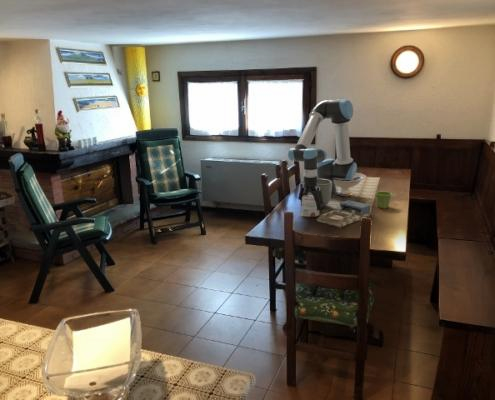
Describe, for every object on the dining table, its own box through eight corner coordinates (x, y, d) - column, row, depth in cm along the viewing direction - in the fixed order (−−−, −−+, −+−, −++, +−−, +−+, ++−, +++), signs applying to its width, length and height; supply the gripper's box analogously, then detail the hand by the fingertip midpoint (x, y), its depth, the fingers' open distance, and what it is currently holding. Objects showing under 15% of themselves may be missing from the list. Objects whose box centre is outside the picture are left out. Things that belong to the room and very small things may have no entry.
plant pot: (372, 205, 253) (373, 191, 251) (387, 204, 254) (388, 190, 251) (378, 209, 244) (379, 195, 242) (393, 208, 245) (394, 194, 243)
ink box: (318, 214, 241) (318, 195, 237) (317, 217, 236) (317, 197, 233) (303, 213, 243) (303, 194, 240) (302, 216, 239) (302, 196, 236)
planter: (314, 201, 267) (314, 177, 263) (337, 205, 255) (337, 180, 251) (298, 207, 256) (297, 182, 251) (320, 212, 244) (321, 186, 239)
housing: (362, 215, 231) (362, 207, 230) (340, 209, 242) (340, 202, 241) (369, 212, 236) (370, 204, 234) (347, 207, 247) (348, 200, 245)
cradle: (340, 227, 218) (340, 219, 217) (316, 220, 230) (316, 213, 229) (370, 215, 236) (370, 207, 234) (347, 209, 247) (347, 202, 246)
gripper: (291, 174, 239) (292, 211, 245) (321, 180, 223) (321, 219, 229) (300, 172, 244) (300, 208, 250) (330, 177, 228) (329, 216, 234)
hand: (310, 213), depth 239 cm, fingers closed on ink box, 9 cm apart
